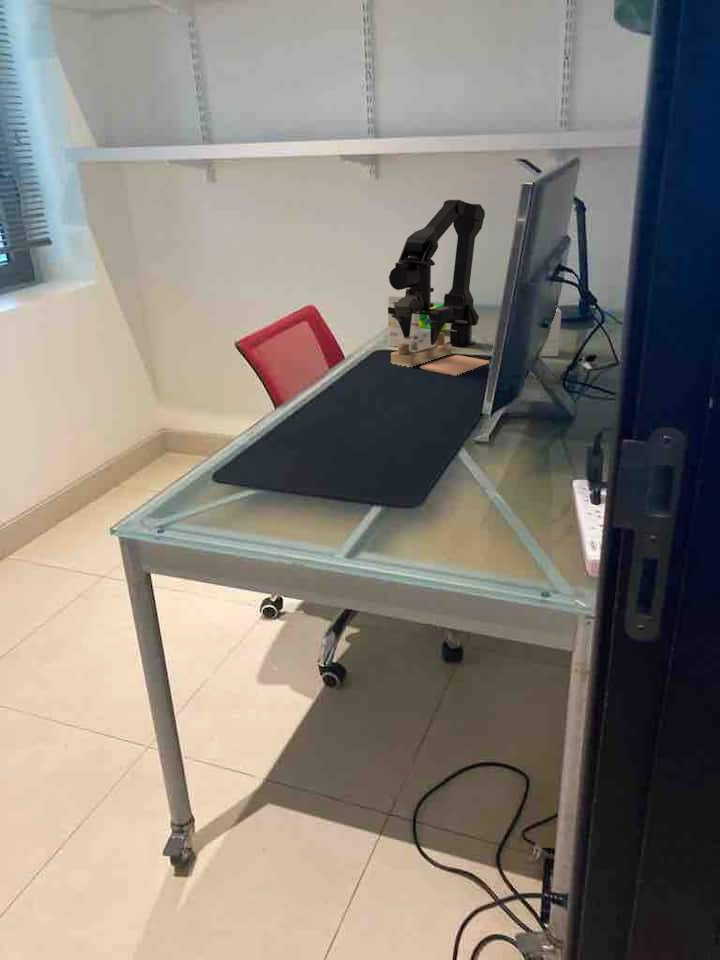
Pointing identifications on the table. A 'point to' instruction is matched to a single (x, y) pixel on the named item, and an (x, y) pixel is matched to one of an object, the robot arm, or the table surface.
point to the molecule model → (428, 319)
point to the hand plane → (420, 353)
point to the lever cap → (419, 340)
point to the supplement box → (553, 336)
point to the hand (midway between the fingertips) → (419, 342)
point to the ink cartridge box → (394, 327)
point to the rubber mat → (455, 365)
